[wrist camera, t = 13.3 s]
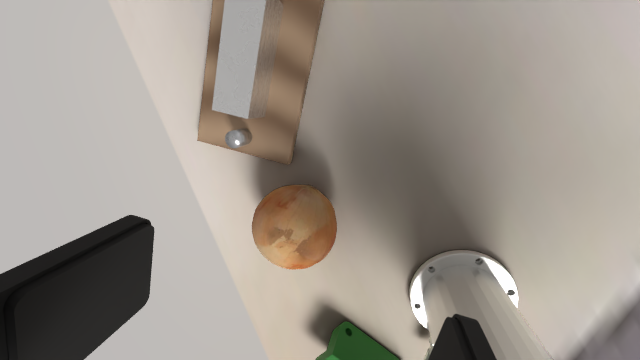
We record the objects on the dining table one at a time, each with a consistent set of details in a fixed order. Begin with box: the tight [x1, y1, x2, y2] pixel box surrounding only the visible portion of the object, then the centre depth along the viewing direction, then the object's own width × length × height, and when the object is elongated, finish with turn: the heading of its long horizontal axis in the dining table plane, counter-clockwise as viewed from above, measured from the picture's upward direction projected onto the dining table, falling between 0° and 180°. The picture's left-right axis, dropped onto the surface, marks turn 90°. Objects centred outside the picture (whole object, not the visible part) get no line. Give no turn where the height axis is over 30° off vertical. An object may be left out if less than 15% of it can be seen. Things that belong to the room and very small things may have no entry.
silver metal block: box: [212, 0, 284, 119], centre depth 31 cm, size 4×12×5 cm, turn 167°
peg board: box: [197, 0, 325, 165], centre depth 33 cm, size 22×12×4 cm, turn 167°
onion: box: [252, 185, 337, 269], centre depth 34 cm, size 10×10×10 cm
